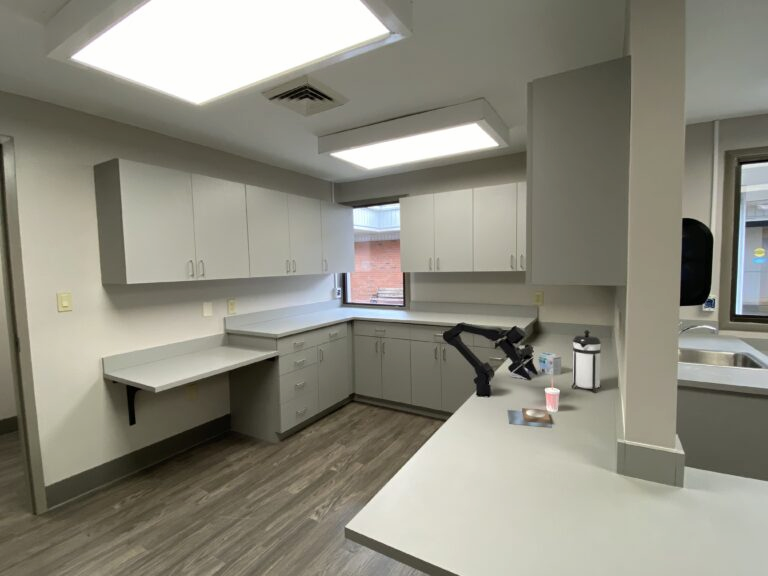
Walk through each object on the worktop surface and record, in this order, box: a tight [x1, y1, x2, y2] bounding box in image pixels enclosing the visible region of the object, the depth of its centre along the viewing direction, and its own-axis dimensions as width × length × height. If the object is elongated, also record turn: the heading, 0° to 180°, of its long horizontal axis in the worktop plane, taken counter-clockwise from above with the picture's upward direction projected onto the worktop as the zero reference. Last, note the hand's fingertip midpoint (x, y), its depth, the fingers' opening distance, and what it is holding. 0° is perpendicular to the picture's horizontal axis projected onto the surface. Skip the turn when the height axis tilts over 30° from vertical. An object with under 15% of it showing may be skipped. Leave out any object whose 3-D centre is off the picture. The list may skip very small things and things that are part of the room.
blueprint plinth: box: [507, 407, 552, 429], centre depth 157 cm, size 16×14×2 cm
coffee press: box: [571, 329, 602, 394], centre depth 191 cm, size 17×16×30 cm
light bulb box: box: [538, 351, 562, 377], centre depth 217 cm, size 11×7×11 cm, turn 25°
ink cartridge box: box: [510, 360, 531, 380], centre depth 210 cm, size 10×6×14 cm, turn 53°
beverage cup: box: [544, 378, 561, 413], centre depth 165 cm, size 6×6×14 cm
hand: (534, 377), depth 169 cm, fingers open, 9 cm apart
